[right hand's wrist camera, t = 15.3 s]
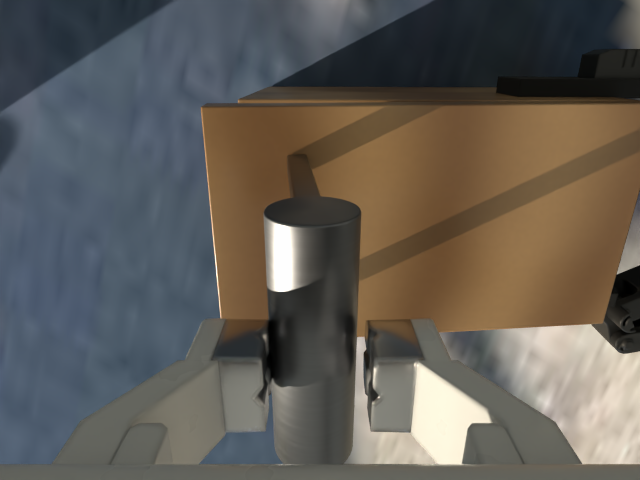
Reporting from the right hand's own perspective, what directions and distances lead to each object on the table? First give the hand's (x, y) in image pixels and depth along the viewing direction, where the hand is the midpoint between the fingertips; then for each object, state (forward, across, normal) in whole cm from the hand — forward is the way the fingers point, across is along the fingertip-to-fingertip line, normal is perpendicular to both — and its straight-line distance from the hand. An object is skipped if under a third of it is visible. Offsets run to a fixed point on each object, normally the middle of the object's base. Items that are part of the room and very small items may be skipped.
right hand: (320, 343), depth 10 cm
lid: (+9, +4, 0) cm, 10 cm away
